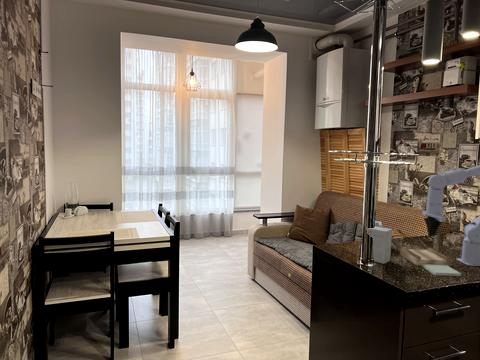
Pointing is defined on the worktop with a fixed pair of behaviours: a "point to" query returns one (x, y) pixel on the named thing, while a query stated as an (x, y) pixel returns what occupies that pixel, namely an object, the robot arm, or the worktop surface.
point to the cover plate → (441, 269)
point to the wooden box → (424, 256)
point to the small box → (381, 243)
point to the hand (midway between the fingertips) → (431, 235)
